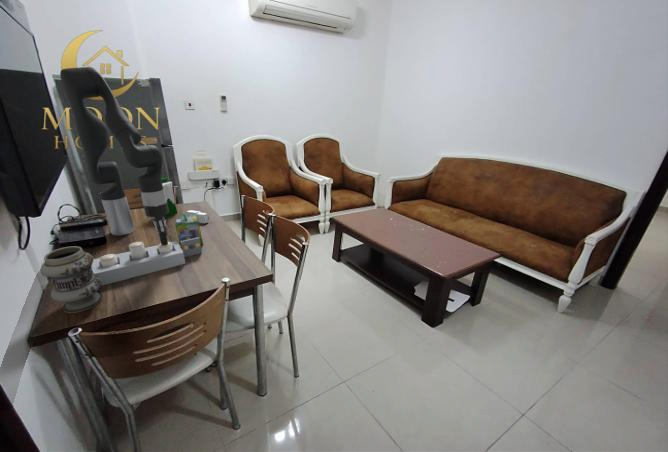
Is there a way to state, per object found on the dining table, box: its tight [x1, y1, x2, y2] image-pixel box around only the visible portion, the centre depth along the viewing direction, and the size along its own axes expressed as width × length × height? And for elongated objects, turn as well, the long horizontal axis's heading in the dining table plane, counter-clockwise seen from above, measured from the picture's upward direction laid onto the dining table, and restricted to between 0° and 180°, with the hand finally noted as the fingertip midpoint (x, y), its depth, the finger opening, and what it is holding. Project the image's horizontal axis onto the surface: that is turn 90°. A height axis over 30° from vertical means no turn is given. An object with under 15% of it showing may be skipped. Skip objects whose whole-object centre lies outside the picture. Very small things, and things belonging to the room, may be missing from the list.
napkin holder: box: [186, 209, 209, 224], centre depth 153 cm, size 15×11×6 cm
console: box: [91, 240, 186, 286], centre depth 110 cm, size 12×28×5 cm, turn 126°
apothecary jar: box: [40, 245, 104, 314], centre depth 88 cm, size 12×12×18 cm
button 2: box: [128, 241, 146, 259], centre depth 108 cm, size 5×5×5 cm
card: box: [180, 237, 203, 258], centre depth 119 cm, size 1×7×7 cm, turn 126°
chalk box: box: [174, 211, 204, 249], centre depth 128 cm, size 9×9×15 cm
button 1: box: [99, 253, 118, 268], centre depth 104 cm, size 5×5×5 cm
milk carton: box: [161, 177, 178, 218], centre depth 157 cm, size 9×9×20 cm
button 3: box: [157, 241, 173, 254], centre depth 114 cm, size 5×5×5 cm
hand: (164, 244), depth 113 cm, fingers closed
